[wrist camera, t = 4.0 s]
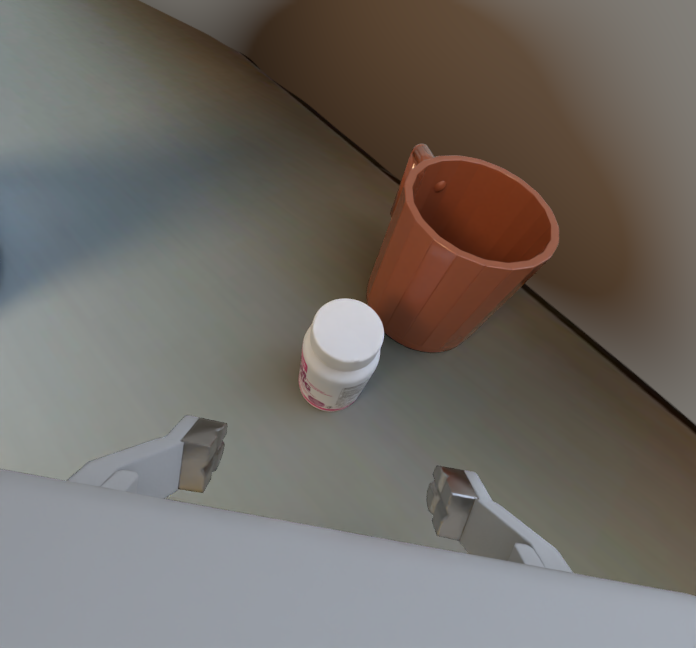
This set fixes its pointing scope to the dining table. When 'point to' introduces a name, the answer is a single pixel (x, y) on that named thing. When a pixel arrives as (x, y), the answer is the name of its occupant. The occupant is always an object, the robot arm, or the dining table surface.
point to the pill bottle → (339, 353)
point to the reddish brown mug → (456, 249)
